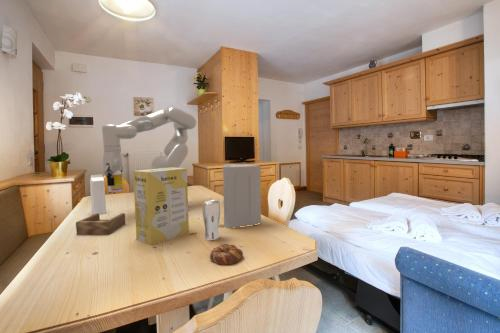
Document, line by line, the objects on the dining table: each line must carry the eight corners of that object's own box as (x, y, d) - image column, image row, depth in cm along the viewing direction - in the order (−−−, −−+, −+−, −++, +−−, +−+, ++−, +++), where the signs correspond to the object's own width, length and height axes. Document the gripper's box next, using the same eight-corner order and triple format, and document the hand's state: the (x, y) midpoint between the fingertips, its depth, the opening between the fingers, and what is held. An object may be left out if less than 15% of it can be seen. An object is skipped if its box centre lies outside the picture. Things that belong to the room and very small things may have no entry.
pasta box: (174, 227, 118) (171, 167, 116) (188, 231, 112) (186, 168, 109) (136, 239, 103) (133, 170, 101) (151, 245, 97) (147, 172, 95)
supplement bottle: (125, 190, 132) (124, 165, 131) (114, 193, 126) (112, 167, 125) (117, 189, 135) (115, 165, 134) (105, 192, 129) (103, 166, 128)
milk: (106, 213, 144) (104, 174, 142) (94, 215, 140) (91, 175, 138) (103, 211, 149) (101, 173, 147) (91, 213, 145) (89, 174, 143)
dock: (125, 224, 123) (124, 213, 123) (108, 234, 109) (108, 222, 109) (96, 224, 123) (96, 213, 123) (76, 234, 109) (75, 222, 109)
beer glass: (223, 235, 106) (222, 200, 105) (215, 242, 100) (214, 204, 98) (208, 234, 109) (207, 199, 107) (200, 240, 102) (199, 203, 101)
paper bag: (211, 224, 122) (209, 166, 119) (231, 217, 134) (230, 164, 131) (243, 232, 111) (242, 168, 108) (261, 223, 123) (261, 165, 120)
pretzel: (205, 254, 89) (205, 244, 89) (234, 249, 94) (234, 239, 93) (215, 269, 78) (214, 257, 78) (247, 262, 83) (247, 251, 82)
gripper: (114, 148, 137) (117, 181, 139) (94, 150, 120) (97, 187, 122) (128, 148, 137) (130, 181, 139) (109, 149, 120) (113, 187, 121)
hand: (115, 184), depth 130 cm, fingers closed on supplement bottle, 6 cm apart
